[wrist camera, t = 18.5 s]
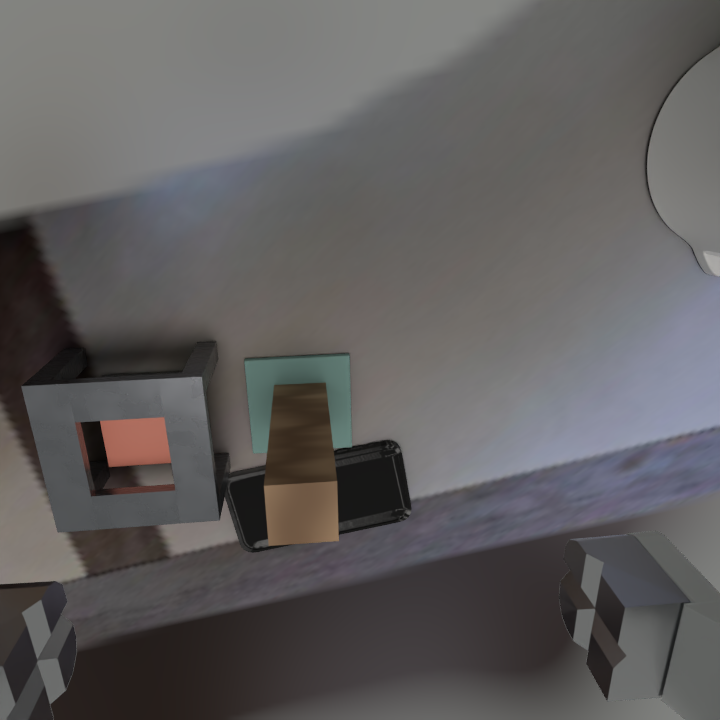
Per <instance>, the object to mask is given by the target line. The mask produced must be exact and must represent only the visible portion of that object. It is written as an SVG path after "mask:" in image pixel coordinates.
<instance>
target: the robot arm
mask: <svg viewBox="0 0 720 720" xmlns="http://www.w3.org/2000/svg"><path fill="white" fill-rule="evenodd" d="M647 176H648V184H649V190H650V194H651V197H652V200H653V203H654V205H655V207H656V209H657V211H658V213H659V215H660V216H661V218H662V219H663V221H664V222H665V223H666V224H667V226H668V227H669V228H670V229H671V230H673V231H674V232H675V233H676V234H677V235H679V236H680V237H681V238H683V239H684V240H685V241H686V242H687V243H688V244H689V245H690V246H691V247H692V248H693V251H694V253H695V256H696V258H697V260H698V262H699V264H700V266H701V268H702V269H703V271H704V272H705V273H706V274H708V275H711V276H718V277H720V46H719V47H718V48H717V49H715V50H714V51H712V52H711V53H709V54H708V55H706V56H705V57H704V58H703V59H701V60H700V61H699V62H698V63H696V64H695V65H694V66H693V67H692V68H691V69H690V70H689V71H688V72H687V73H686V74H685V75H684V76H683V78H682V79H681V80H680V81H679V82H678V84H677V85H676V86H675V88H674V89H673V90H672V92H671V93H670V95H669V96H668V98H667V100H666V102H665V103H664V105H663V107H662V109H661V111H660V113H659V116H658V118H657V120H656V123H655V126H654V129H653V132H652V135H651V140H650V144H649V150H648V158H647ZM563 559H564V561H565V563H566V564H567V566H568V567H569V569H570V571H569V572H568V573H567V574H566V575H565V576H564V577H563V579H562V580H561V581H560V590H559V601H560V608H561V615H562V617H563V620H564V623H565V626H566V628H567V630H568V632H569V634H570V636H571V637H572V640H573V641H575V642H576V643H577V644H579V645H580V646H582V647H583V648H585V649H586V650H588V655H587V662H586V665H587V667H588V668H589V670H590V672H591V674H592V675H593V677H594V679H595V680H596V682H597V684H598V686H599V688H600V690H601V691H602V693H603V694H604V697H605V698H606V700H607V701H608V702H609V701H622V700H635V699H647V698H660V697H662V699H661V701H663V702H664V703H665V704H666V705H668V706H669V707H670V708H671V709H673V710H674V711H675V712H676V713H677V714H679V715H680V716H681V717H682V718H684V719H685V720H720V593H719V592H718V591H717V590H716V589H715V588H714V587H713V585H712V584H711V583H710V582H709V581H708V580H707V579H706V578H705V577H704V576H703V575H702V574H701V573H700V572H699V571H698V570H697V569H696V568H695V567H694V566H693V564H691V562H690V561H689V560H688V559H687V558H686V557H685V556H684V555H683V554H682V553H681V552H680V551H679V550H678V549H677V548H676V547H675V546H674V545H673V544H672V542H670V540H669V539H668V538H667V537H666V536H665V535H664V534H662V533H660V532H658V531H648V532H639V533H629V534H627V535H615V536H605V537H604V536H603V537H592V538H581V539H570V540H569V541H568V543H567V545H566V547H565V552H564V558H563ZM67 602H68V601H67V598H66V595H65V591H64V588H63V585H62V584H60V583H58V582H56V581H52V582H35V583H18V584H1V585H0V720H53V719H54V717H53V714H52V710H51V706H50V704H51V703H52V702H53V701H54V700H55V699H56V698H58V697H59V696H60V695H61V694H62V693H63V692H65V691H66V689H67V686H68V684H69V681H70V678H71V676H72V674H73V670H74V664H75V658H76V653H77V646H76V634H75V629H74V625H73V623H71V622H70V621H69V620H68V619H66V618H65V617H64V616H63V615H61V614H62V612H63V610H64V608H65V606H66V604H67Z"/></svg>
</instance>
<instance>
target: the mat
mask: <svg viewBox="0 0 720 720" xmlns="http://www.w3.org/2000/svg"><path fill="white" fill-rule="evenodd" d="M244 363H245V373H246V384H247V394H248V404H249V415H250V425H251V436H252V446H253V453H267V450H268V440H269V430H270V420H271V411H272V401H273V391H274V385H284V384H305V383H326V389H327V397H328V406H329V415H330V424H331V432H332V441H333V448H345V447H352V434H351V393H350V355H349V353H347V354H327V355H308V356H288V357H268V358H248V359H245V360H244Z"/></svg>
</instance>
